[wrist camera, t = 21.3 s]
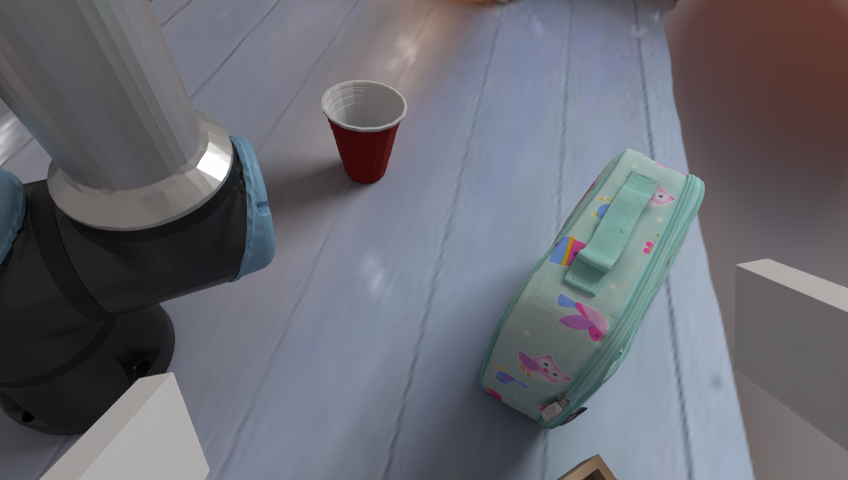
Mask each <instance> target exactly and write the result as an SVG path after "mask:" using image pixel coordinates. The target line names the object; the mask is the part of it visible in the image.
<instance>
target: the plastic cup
mask: <svg viewBox="0 0 848 480" xmlns="http://www.w3.org/2000/svg"><path fill="white" fill-rule="evenodd" d="M321 104H322V110H323V113H324V114H325V115H326V116H327V118H328V121H329V123H330V126H331V129H332V131H333V134H334V137H335V140H336V144H337V147H338V150H339V153H340V157H341V159H342V161H343V164H344V167H345V171H346V172H347V174H348V176H349V177H350V178H351V179H352V180H354V181H356V182H358V183H363V184H367V183H374V182H376V181H378V180H380V179H381V178H382V177H383V176H384V173H385V171H386V168H387V164H388V160H389V157H390V155H391V151H392V147H393V143H394V139H395V135H396V132H397V129H398V126H399V124H400V122H401V121H402V120H403V118H404V116H405V113H406V111H407V108H408V107H407V104H406V100H405V98H404V97H403V96H402V95H401V94H400V93H399V92H398V91H397V90H396V89H394V88H392V87H389V86H387V85H385V84H383V83H378V82H373V81H369V80H352V81H348V82H343V83H339V84H337V85H335V86H333V87H332V88H330V89H328V90H327V91H326V92H325V94H324V95H323V97H322V99H321Z"/></svg>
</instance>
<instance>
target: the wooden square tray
mask: <svg viewBox="0 0 848 480" xmlns="http://www.w3.org/2000/svg"><path fill="white" fill-rule="evenodd" d="M557 480H617V479H616V478H615V477H614V475H613V474H612V472H611V471H610V470H609V468H608V467H607V465H606V464H605V462H604V461H603V460H602V458H601V457H600V455H599V454H597V455H595V456H593V457H591V458H589V459H587V460H585V461H583V462H581V463H579V464H578V465H577V466H575V467H574V468H572V469H571V470H570V471H568V472H567V473H566V474H564V475H563V476H561V477H560V478H559V479H557Z"/></svg>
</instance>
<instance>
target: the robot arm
mask: <svg viewBox="0 0 848 480" xmlns="http://www.w3.org/2000/svg"><path fill="white" fill-rule="evenodd" d="M0 98H1V99H2V100H3V101H4V103H5V104H6V105H7V106H8V107H9V108H10V110H11V111H12V112H13V113H14V114H15V115H16V117H17V118H18V119H19V120H20V121H21V123H22V124H23V125H24V126H25V127H26V128H27V130H28V131H29V132H30V133H31V134H32V135H33V137H34V138H35V139H36V140H37V141H38V143H39V144H40V145H41V146H42V147H43V148H44V150H45V151H46V152H47V153H48V154H49V155H50V157H51V158H52V160H51V163H50V165H49V169H48V174H47V179H45V180H40V181H35V182H31V183H26V184H22V182H21V181H20V180H19V179H18V178H17V177H16V176H15V175H14V174H12V173H11V172H9V171H6V170H3V169H2V168H0V406H1V408H2V409H3V410H4V412H5V413H6V414H7V415H8V416H9V417H11V418H12V419H13V420H15V421H16V422H18V423H20V424H22V425H24V426H26V427H29V428H31V429H34V430H37V431H39V432H42V433H47V434H52V435H74V434H80V433H85V432H86V433H85V434H84V435H83V436H82V437H81V438H80V439H79V440H78V441H77V442H76V443H75V444H74V445H73V446H72V447H71V448H70V449H69V450H68V451H67V452H66V453H65V454H64V455H63V456H62V457H61V458H60V459H59V460H58V461H57V462H56V463H55V464H54V465H53V466H52V467H51V468H50V469H49V470H48V471H47V472H46V473H45V474H44V475H43V476H42V477H41V478H40V479H39V480H205V478H206V476H207V475H208V473H209V471H210V470H209V467H208V465H207V462H206V459H205V457H204V454H203V451H202V449H201V446H200V443H199V441H198V438H197V435H196V433H195V430H194V427H193V425H192V422H191V419H190V416H189V414H188V411H187V408H186V406H185V403H184V400H183V398H182V395H181V392H180V390H179V387H178V384H177V382H176V379H175V376H174V374H173V372H170V373H165V372H166V371H167V368H168V366H169V364H170V361H171V359H172V355H173V351H174V345H175V334H174V328H173V324H172V321H171V319H170V317H169V316H168V314H167V313H166V311H165V310H164V309H163V308H162V307H161V305H160V304H159V303H161V302H164V301H167V300H170V299H174V298H177V297H180V296H183V295H187V294H190V293H193V292H197V291H200V290H203V289H206V288H210V287H213V286H216V285H220V284H223V283H226V282H234V281H237V280H239V279H240V278H241V277H242V276H245V275H247V274H250V273H253V272H255V271H258V270H261V269H263V268H265V267H266V266H267V265H269V264H270V262H271V261H272V259H273V257H274V254H275V235H274V227H273V221H272V216H271V211H270V209H269V207H268V199H267V192H266V188H265V184H264V180H263V177H262V173H261V170H260V166H259V163H258V160H257V157H256V155H255V152H254V150H253V148H252V146H251V144H250V142H249V141H248V140H247V139H245V138H243V137H233V136H228V134H227V133H226V131H225V130H224V128H223V127H222V126H221V125H220V123H219V122H217V121H216V120H215V119H214V118H212V117H211V116H209V115H207V114H206V113H204V112H201V111H199V110H197V109H194V108H193V105H192V103H191V100H190V98H189V96H188V93H187V91H186V88H185V86H184V83H183V81H182V79H181V76H180V74H179V71H178V69H177V67H176V64H175V62H174V59H173V57H172V55H171V52H170V50H169V47H168V45H167V42H166V40H165V38H164V35H163V33H162V30H161V28H160V26H159V23H158V21H157V18H156V16H155V14H154V11H153V9H152V6H151V4H150V2H149V0H0ZM734 369H735V370H737V371H738V372H739V373H741V374H742V375H744V376H745V377H746V378H748V379H749V380H750V381H752V382H753V383H755V384H756V385H757V386H759V387H760V388H761V389H763V390H764V391H766V392H767V393H768V394H770V395H771V396H773V397H774V398H775V399H777V400H778V401H779V402H781V403H782V404H783V405H785V406H786V407H788V408H789V409H790V410H792V411H793V412H794V413H796V414H797V415H798V416H800V417H801V418H803V419H804V420H805V421H807V422H808V423H810V424H811V425H812V426H814V427H815V428H817V429H818V430H819V431H820V432H822V433H823V434H825V435H826V436H827V437H829V438H830V439H831V440H833V441H834V442H836V443H837V444H838V445H840V446H841V447H843V448H844V449H845V450H847V451H848V288H846V287H843V286H840V285H838V284H835V283H832V282H829V281H827V280H824V279H821V278H819V277H816V276H813V275H811V274H808V273H805V272H802V271H800V270H797V269H794V268H791V267H789V266H786V265H783V264H781V263H778V262H775V261H773V260H770V259H764V260H758V261H753V262H748V263H742V264H737V265H736V268H735V329H734Z"/></svg>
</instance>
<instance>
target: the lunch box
mask: <svg viewBox="0 0 848 480" xmlns="http://www.w3.org/2000/svg"><path fill="white" fill-rule="evenodd" d="M703 196H704V183H703V181H701V180H700V179H699V178H698V177H695V175H690V174H689V175H687V176H686V175H684V174H682V173H680V172H677V171H674V170H672V169H670V168H668V167H666V166H664V165H662V164H660V163H658V162H655V161H653V160H651V159H649V158H647V157H645V156H644V155H642V154H640V153H639V152H637V151H634V150H631V149H627V150H624V151H623V152H622V153H621V154H620V155H619V156H618V157H616V158H614V159H613V160H612V161H611V162H610V163H609V164H608V165H607V166H606V167H605V168H604V170H603V171H602V172H601V173H600V175H599V176H598V177H597V179H596V180H595V181H594V183H593V184H592V185H591V187H590V188H589V190H588V191H587V192H586V194H585V195H584V196H583V198H582V199H581V200H580V201H579V203H578V204H577V206H576V207H575V209H574V210H573V212H572V213H571V215H570V216H569V218H568V219H567V221H566V222H565V224H564V226H563V228H562V230H561V231H560V233H559V234H558V236H557V237H556V239H555V241H554V243H553V245H552V246H551V248H550V249H549V250H548V252H547V253H546V254H545V256H544V257H543V258H542V260H541V261H540V262H539V264H538V265H537V266H536V267H535V269H534V270H533V271H532V273H531V274H530V276H529V277H528V278H527V280H526V281H525V282H524V283H523V285H522V286H521V287H520V288H519V290H518V291H517V292H516V293H515V295H514V296H513V297H512V299H511V300H510V301H509V304H508V306H507V308H506V311H505V313H504V315H503V317H502V318H501V320H500V322H499V324H498V326H497V328H496V330H495V332H494V335H493V337H492V339H491V342H490V345H489V347H488V350H487V353H486V355H485V358H484V361H483V365H482V368H481V372H480V378H479V385H480V387H481V389H482V390H484V391H485V392H487V393H488V394H491V395H493V396H494V397H496V398H497V399H499V400H500V401H502V402H504V403H506V404H508V405H509V406H511V407H513V408H515V409H516V410H518V411H520V412H522V413H524V414H526V415H527V416H528V417H530V418H531V419H533V420H537V421H539V424H540V425H541V426H544V427H545V428H549V429H553V428H555V427H557V426H562V425H565V424H566V423H568V422H570V421H572V420H573V419H574V418H576V417H577V416H578V415H580V414H581V413H583V412H584V411H585V410H587V408H585V407H581V406H582V405H583V404H584V403H585V402H586V401H587V400H588V399H589V398H590V397H591V396H592V395H593V394H594V393H595V392H596V391H597V390H598V389H599V388H600V387H601V386H602V385H603V384H604V383H605V382H606V381H607V380H608V379H609V378H610V377H611V376H612V375H613V374H614V372H615V371H616V370H617V369H618V367H619V366H620V364H621V363H622V362H623V361H624V359H625V357H626V356H627V354H628V352H629V350H630V347H631V345H632V342H633V340H634V338H635V335H636V333H637V331H638V329H639V326H640V324H641V322H642V320H643V318H644V316H645V314H646V312H647V310H648V309H649V307H650V305H651V303H652V301H653V300H654V298H655V296H656V294H657V293H658V291H659V290H660V288H661V286H662V284H663V282H664V281H665V279H666V277H667V275H668V273H669V271H670V269H671V267H672V265H673V263H674V261H675V259H676V257H677V255H678V253H679V251H680V249H681V246H682V244H683V242H684V240H685V237H686V235H687V233H688V230H689V227H690V224H691V222H692V221H693V219H694V217H695V215H696V214H697V212H698V210H699V208H700V205H701V202H702V200H703ZM580 407H581V408H580Z"/></svg>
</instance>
